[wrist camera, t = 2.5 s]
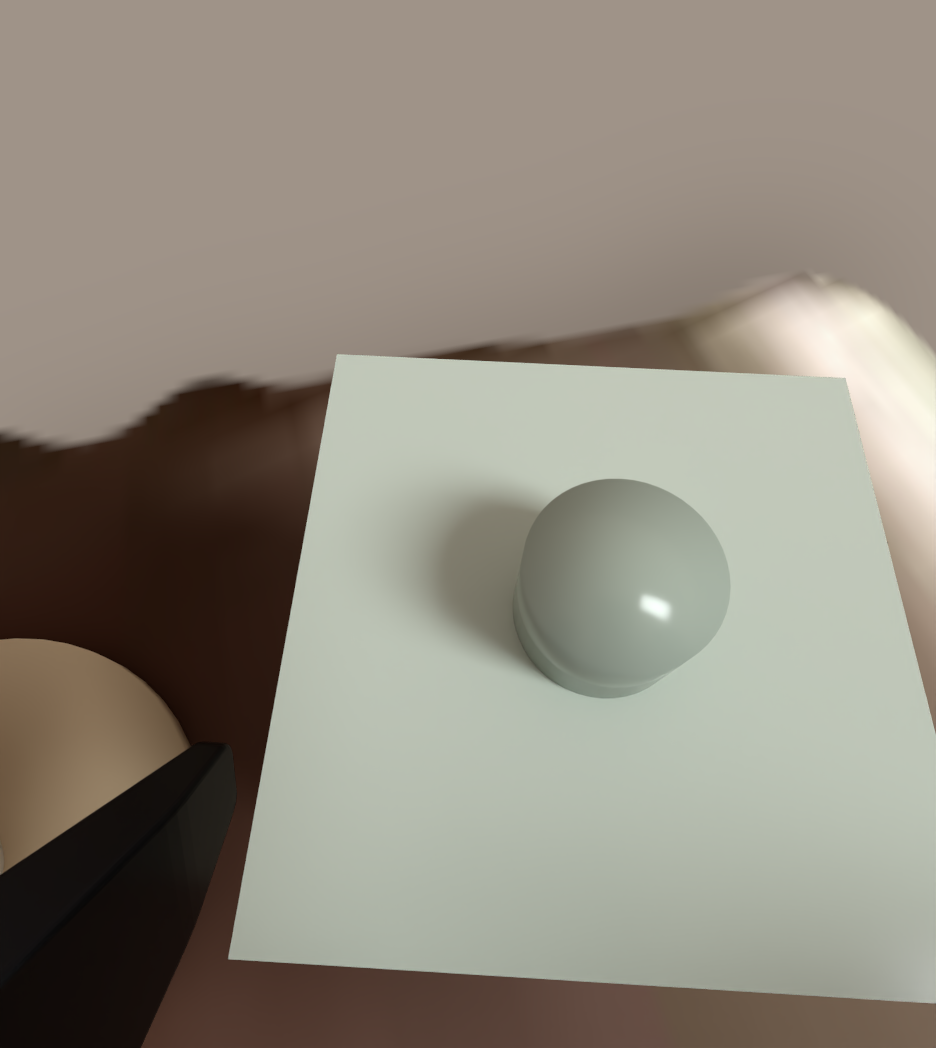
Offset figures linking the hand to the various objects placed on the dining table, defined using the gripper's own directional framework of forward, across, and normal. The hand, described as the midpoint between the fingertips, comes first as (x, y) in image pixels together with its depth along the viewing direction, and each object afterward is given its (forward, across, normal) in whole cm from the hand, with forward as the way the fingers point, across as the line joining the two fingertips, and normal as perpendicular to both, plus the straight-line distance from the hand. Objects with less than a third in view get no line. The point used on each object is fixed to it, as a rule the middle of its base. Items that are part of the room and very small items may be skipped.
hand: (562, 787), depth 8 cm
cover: (+8, 0, +6) cm, 9 cm away
